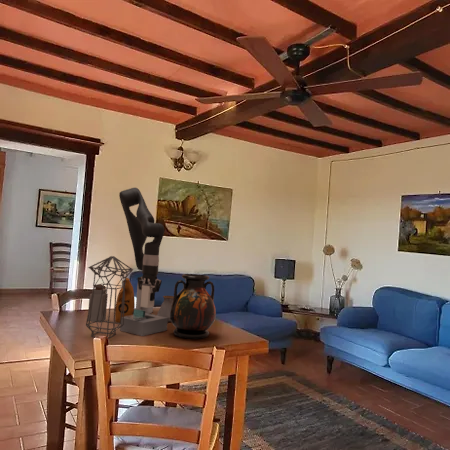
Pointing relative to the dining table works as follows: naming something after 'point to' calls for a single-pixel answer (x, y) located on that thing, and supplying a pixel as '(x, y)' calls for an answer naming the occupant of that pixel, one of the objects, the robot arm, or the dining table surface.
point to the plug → (146, 296)
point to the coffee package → (128, 303)
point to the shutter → (136, 315)
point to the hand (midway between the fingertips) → (147, 299)
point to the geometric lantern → (106, 293)
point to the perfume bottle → (96, 304)
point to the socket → (145, 325)
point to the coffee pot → (166, 307)
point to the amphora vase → (193, 307)
